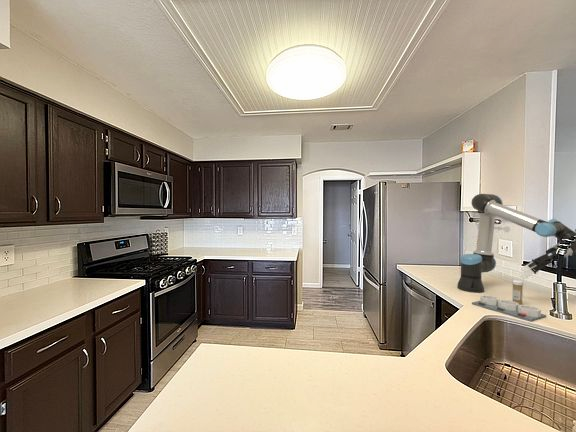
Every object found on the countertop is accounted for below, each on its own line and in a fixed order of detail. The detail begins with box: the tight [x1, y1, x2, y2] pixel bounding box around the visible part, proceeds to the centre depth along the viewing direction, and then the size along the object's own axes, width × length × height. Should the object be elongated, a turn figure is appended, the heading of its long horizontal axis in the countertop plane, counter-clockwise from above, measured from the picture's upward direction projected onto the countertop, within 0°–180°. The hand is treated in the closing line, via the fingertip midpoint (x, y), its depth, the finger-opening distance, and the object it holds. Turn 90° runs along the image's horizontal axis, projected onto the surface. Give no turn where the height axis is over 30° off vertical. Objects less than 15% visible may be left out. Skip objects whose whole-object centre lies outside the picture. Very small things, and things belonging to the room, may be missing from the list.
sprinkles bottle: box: [511, 279, 524, 305], centre depth 155 cm, size 5×5×14 cm
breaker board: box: [471, 294, 547, 323], centre depth 145 cm, size 27×15×4 cm, turn 26°
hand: (522, 274), depth 157 cm, fingers open, 13 cm apart
